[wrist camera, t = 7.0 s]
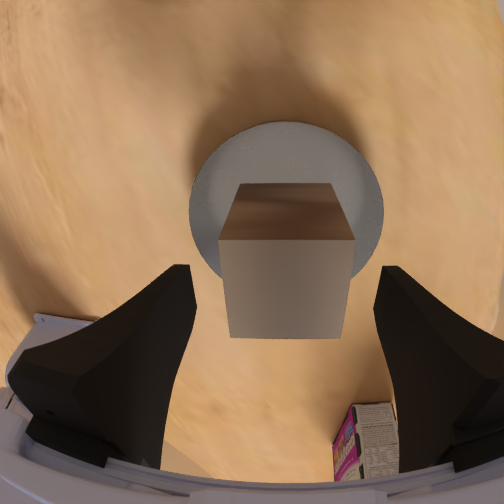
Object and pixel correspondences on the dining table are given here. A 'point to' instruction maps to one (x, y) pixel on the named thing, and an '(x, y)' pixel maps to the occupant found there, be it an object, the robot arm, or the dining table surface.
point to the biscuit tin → (286, 181)
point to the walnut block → (286, 261)
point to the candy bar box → (367, 443)
